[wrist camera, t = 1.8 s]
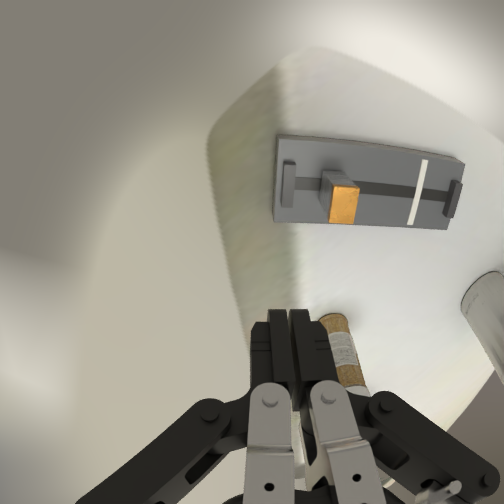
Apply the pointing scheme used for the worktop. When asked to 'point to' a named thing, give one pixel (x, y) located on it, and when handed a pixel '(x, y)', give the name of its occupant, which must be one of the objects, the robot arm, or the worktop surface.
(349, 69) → the worktop surface
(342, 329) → the sprinkles bottle
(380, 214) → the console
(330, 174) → the fader knob
